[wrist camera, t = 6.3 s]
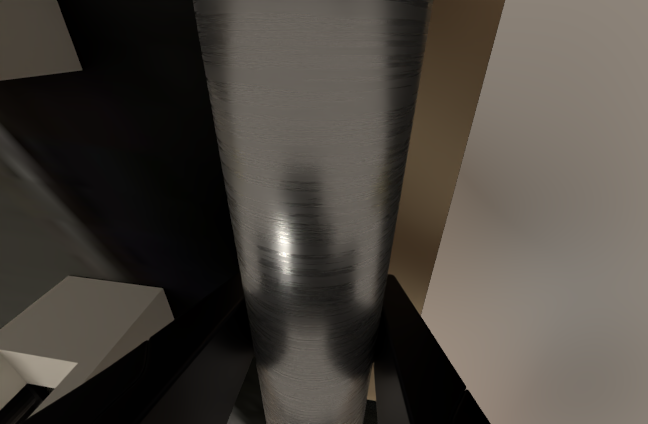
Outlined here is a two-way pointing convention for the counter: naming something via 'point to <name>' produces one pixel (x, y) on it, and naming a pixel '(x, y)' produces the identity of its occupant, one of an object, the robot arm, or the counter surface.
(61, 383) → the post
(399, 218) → the board
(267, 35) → the rail
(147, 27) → the counter surface
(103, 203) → the counter surface
